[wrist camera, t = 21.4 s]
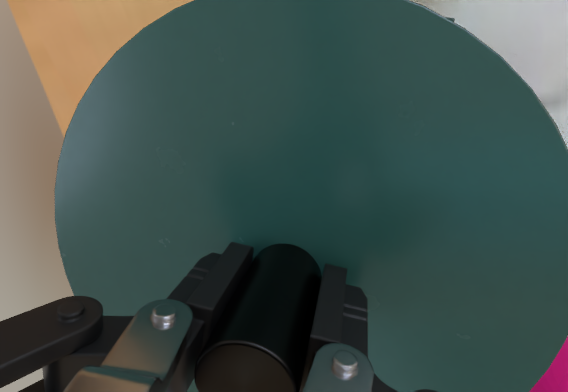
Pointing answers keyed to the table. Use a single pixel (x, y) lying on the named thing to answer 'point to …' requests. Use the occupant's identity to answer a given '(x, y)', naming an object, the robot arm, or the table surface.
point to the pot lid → (325, 189)
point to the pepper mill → (555, 374)
